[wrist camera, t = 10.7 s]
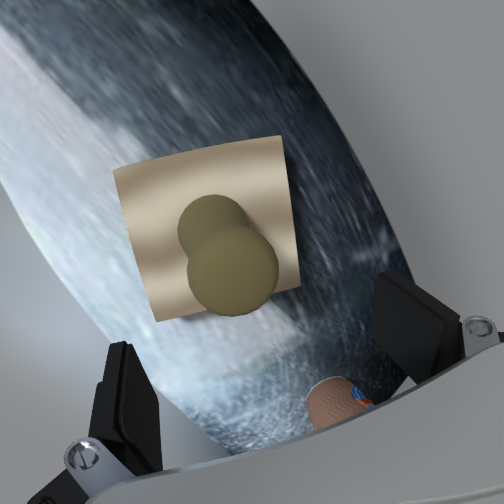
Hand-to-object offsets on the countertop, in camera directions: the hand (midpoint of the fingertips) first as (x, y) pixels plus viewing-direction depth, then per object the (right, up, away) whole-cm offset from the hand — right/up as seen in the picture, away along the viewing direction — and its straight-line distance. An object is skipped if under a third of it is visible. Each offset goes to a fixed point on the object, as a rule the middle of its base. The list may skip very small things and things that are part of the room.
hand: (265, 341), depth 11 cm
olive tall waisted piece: (-4, +5, +16) cm, 17 cm away
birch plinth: (-5, +6, +19) cm, 21 cm away
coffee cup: (+10, -17, +31) cm, 37 cm away
